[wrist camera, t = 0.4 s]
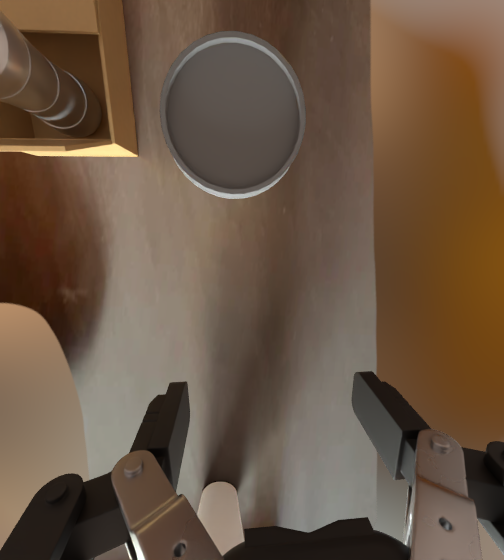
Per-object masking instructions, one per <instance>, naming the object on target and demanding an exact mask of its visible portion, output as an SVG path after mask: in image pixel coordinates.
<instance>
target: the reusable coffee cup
mask: <svg viewBox="0 0 504 560" xmlns="http://www.w3.org/2000/svg"><path fill="white" fill-rule="evenodd" d="M160 118H161V127H162V131H163V134H164V138H165V141H166V144H167V146H168V148H169V150H170V152H171V154H172V156H173V158H174V160H175V162H176V164H177V165H178V167H179V168H180V169H181V171H182V172H183V173H184V175H185V176H186V177H187V178H188V179H189V180H190V181H192V182H193V183H194V184H195V185H196V186H198V187H199V188H201V189H202V190H204V191H206V192H208V193H210V194H213V195H216V196H218V197H223V198H230V199H240V198H247V197H251V196H255V195H258V194H260V193H262V192H264V191H266V190H268V189H269V188H271V187H272V186H273V185H274V184H276V183H277V182H278V181H279V180H280V179H281V178H282V177H283V176H284V174H285V173H286V172H287V171H288V169H289V167H290V165H291V164H292V162H293V160H294V159H295V157H296V155H297V153H298V151H299V148H300V145H301V143H302V140H303V135H304V130H305V124H306V108H305V102H304V96H303V91H302V88H301V86H300V83H299V80H298V77H297V75H296V74H295V72H294V70H293V69H292V67H291V65H290V63H289V62H288V61H287V60H286V59H285V58H284V56H283V55H282V54H281V53H280V52H279V51H278V50H277V49H276V48H274V47H273V46H272V45H270V44H269V43H268V42H267V41H265V40H263V39H261V38H258V37H256V36H254V35H252V34H248V33H243V32H239V31H220V32H216V33H212V34H208V35H206V36H204V37H202V38H200V39H198V40H196V41H194V42H193V43H191V44H190V45H189V46H188V47H187V48H186V49H184V50H183V51H182V52H181V53H180V55H179V56H178V57H177V59H176V60H175V61H174V63H173V64H172V65H171V67H170V70H169V72H168V74H167V76H166V78H165V81H164V85H163V89H162V93H161V100H160Z"/></svg>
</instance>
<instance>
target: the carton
mask: <svg viewBox="0 0 504 560" xmlns="http://www.w3.org/2000/svg"><path fill="white" fill-rule="evenodd" d="M0 11H1V12H2V13H3V14H4V15H5V16H6V17H7V18H8V19H9V20H10V21H11V22H12V23H13V24H14V26H15V27H16V28H17V29H18V30H19V31H20V32H21V33H22V34H23V36H24V37H25V38H26V39H27V40H28V41H29V42H30V43H31V44H32V46H34V47H35V48H36V49H37V50H38V51H39V52H40V53H41V54H42V55H43V56H44V57H46V58H47V59H48V60H49V61H50V62H52V63H53V64H55V65H56V66H58V67H59V68H61V69H62V70H64V71H67V72H69V73H71V74H72V75H74V76H76V77H78V78H79V79H81V80H82V81H83V82H85V83H86V84H87V85H88V86H89V88H90V89H91V90H92V92H93V93H94V94H95V96H96V98H97V99H98V101H99V104H100V107H101V113H102V117H101V122H100V125H99V127H98V128H97V130H96V131H95V132H94V133H92V134H90V135H89V136H85V137H74V136H68V135H64V134H61V133H60V132H58V131H56V130H54V129H53V128H51V127H50V126H49V125H47V124H46V123H45V122H44V121H42V120H41V119H40V118H38V117H36V116H35V115H33V114H31V113H30V112H28V111H26V110H23V109H21V108H18V107H16V106H13V105H11V104H8V103H5V102H1V101H0V139H56V140H112V145H105V146H99V147H93V148H87V149H80V150H74V151H68V152H33V151H22V152H26V153H29V154H33V155H36V156H133V157H138V149H137V139H136V129H135V120H134V110H133V101H132V91H131V81H130V72H129V62H128V52H127V43H126V33H125V23H124V14H123V4H122V0H0Z"/></svg>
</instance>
